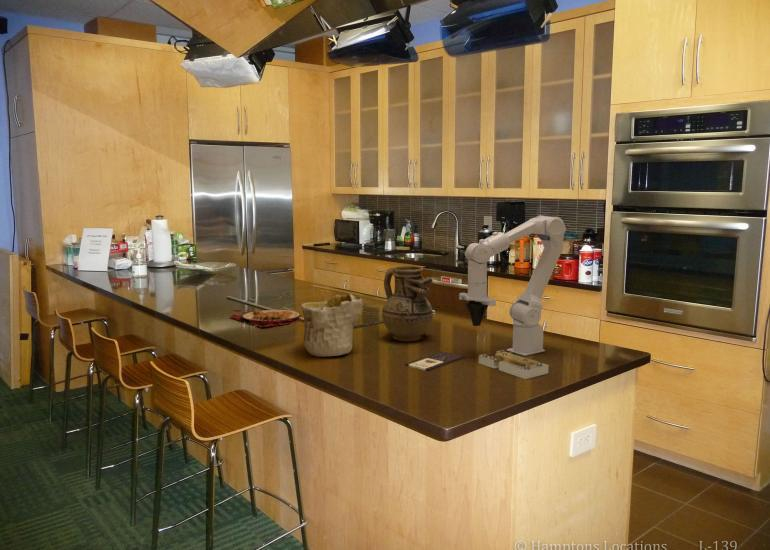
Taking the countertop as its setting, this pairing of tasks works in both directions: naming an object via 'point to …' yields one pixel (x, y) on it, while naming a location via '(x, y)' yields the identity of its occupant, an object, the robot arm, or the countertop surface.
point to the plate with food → (269, 317)
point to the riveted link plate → (514, 359)
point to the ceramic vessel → (330, 325)
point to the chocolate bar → (434, 361)
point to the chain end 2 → (524, 369)
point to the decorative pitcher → (407, 303)
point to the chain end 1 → (490, 359)
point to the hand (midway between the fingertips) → (476, 325)
